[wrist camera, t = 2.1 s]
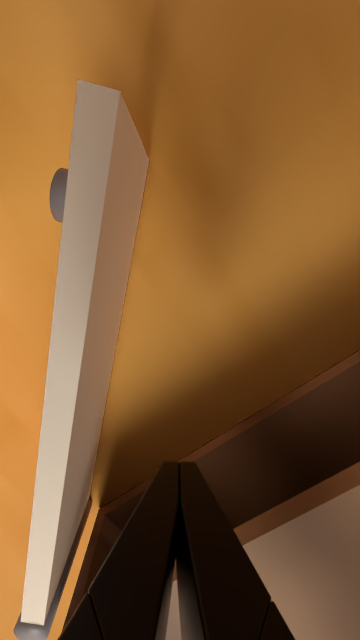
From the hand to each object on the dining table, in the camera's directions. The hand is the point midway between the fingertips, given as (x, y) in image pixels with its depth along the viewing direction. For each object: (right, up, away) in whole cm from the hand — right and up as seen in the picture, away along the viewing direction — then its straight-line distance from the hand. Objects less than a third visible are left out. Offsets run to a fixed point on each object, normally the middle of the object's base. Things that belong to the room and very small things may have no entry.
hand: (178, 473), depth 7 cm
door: (-4, +2, +5) cm, 7 cm away
